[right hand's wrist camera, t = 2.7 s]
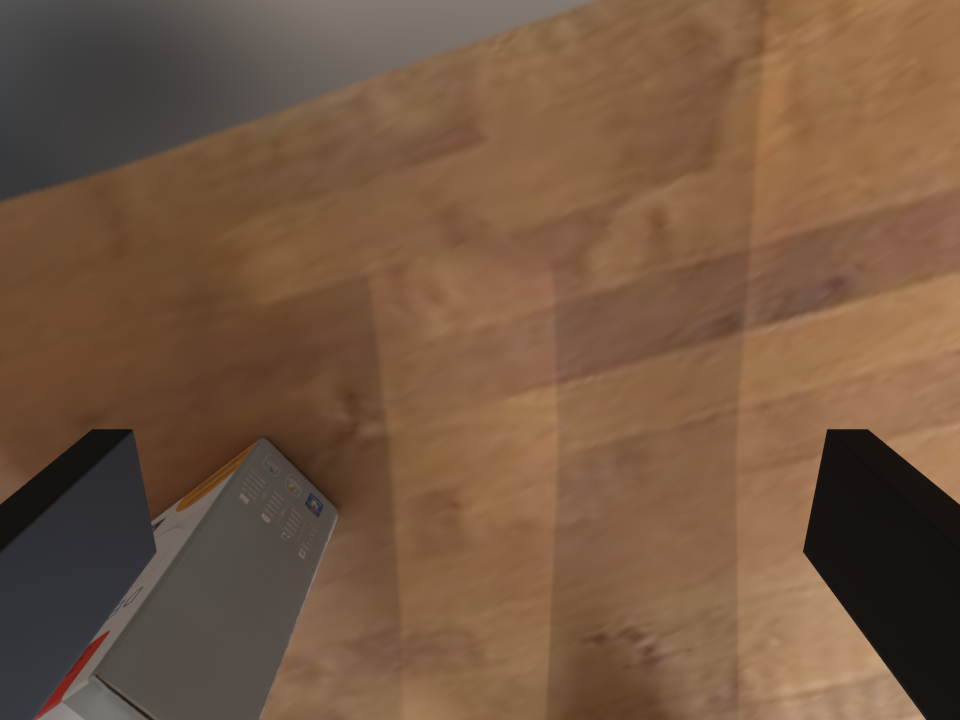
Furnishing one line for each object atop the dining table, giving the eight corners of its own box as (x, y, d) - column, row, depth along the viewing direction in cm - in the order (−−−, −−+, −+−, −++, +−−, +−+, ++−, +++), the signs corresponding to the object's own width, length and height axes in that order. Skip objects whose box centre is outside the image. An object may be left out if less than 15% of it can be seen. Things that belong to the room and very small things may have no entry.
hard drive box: (263, 430, 43) (98, 672, 25) (343, 510, 45) (248, 790, 27) (102, 555, 47) (-150, 852, 28) (184, 624, 49) (0, 944, 30)
